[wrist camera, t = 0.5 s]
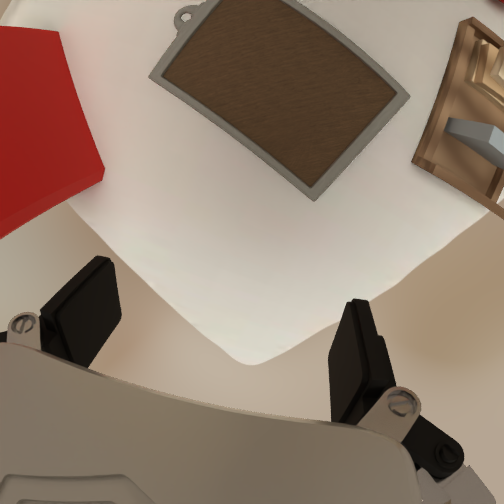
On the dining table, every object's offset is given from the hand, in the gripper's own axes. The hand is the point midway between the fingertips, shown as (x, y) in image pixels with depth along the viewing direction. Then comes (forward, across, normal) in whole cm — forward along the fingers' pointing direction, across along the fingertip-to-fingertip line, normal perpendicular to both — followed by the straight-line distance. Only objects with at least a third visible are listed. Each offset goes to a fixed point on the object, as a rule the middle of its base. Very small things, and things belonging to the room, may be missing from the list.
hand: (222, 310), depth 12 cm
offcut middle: (+26, -28, -19) cm, 43 cm away
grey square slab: (+29, -26, -9) cm, 40 cm away
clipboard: (+31, +2, -12) cm, 33 cm away
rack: (+30, -27, -14) cm, 42 cm away
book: (+30, +34, -6) cm, 46 cm away
